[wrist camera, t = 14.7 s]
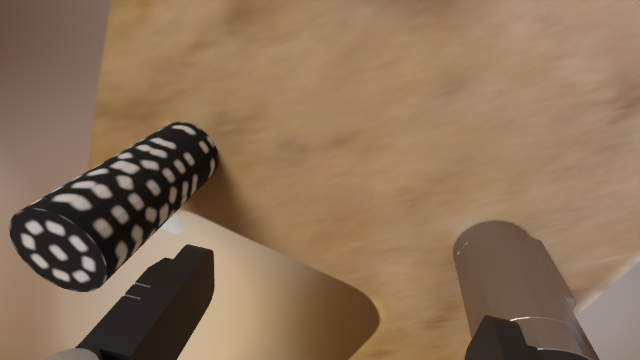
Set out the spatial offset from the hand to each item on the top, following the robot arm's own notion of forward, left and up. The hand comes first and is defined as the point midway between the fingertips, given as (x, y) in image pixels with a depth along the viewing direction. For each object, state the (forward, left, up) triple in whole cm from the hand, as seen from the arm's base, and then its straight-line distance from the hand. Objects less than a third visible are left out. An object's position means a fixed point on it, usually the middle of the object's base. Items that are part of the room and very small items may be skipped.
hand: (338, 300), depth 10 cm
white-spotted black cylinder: (+22, +13, -30) cm, 40 cm away
